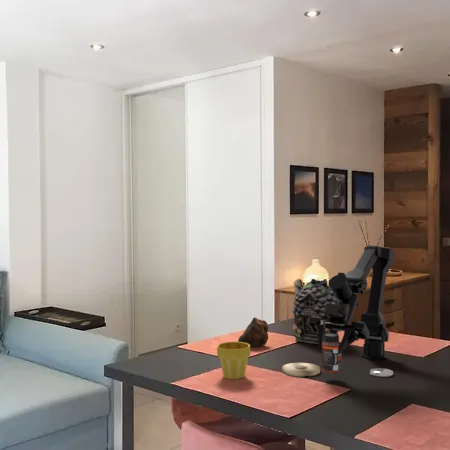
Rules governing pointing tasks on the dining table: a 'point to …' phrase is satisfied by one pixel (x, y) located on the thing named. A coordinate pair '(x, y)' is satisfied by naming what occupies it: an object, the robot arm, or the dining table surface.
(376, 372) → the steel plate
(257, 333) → the decorative rock
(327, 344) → the supplement bottle
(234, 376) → the plant pot
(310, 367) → the coaster
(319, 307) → the decorative house
